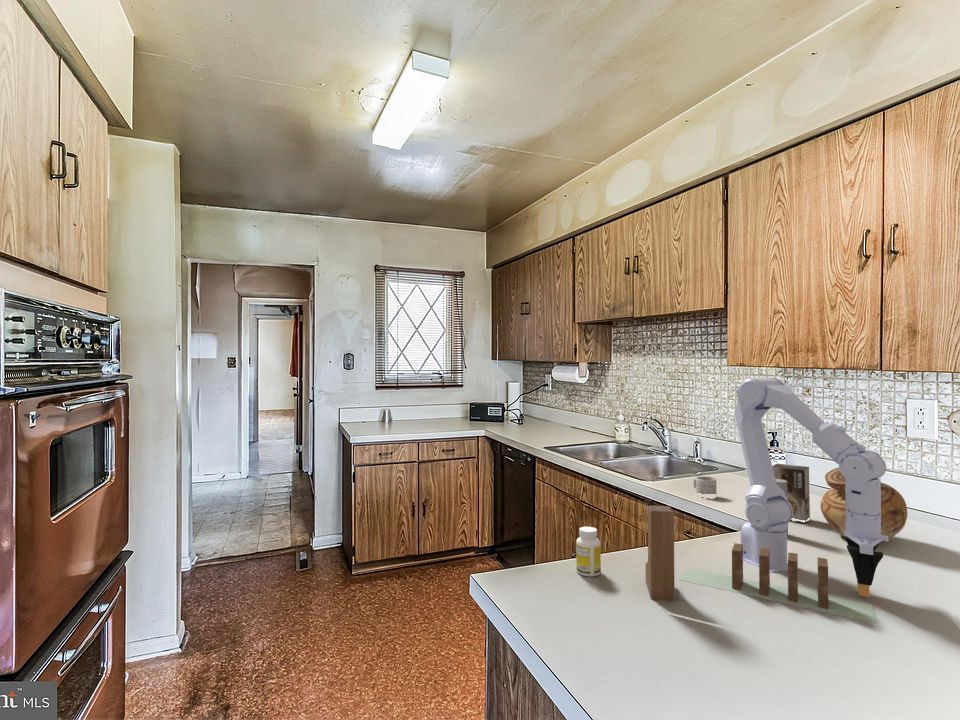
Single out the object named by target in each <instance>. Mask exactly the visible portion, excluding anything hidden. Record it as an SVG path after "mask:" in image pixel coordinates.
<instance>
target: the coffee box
mask: <svg viewBox="0 0 960 720" xmlns="http://www.w3.org/2000/svg"><path fill="white" fill-rule="evenodd" d="M772 467H773V472H774V476H775V479H781V480H786V481H787V493H788V502H789V503H790V504H791V506H792V509H793V517H792V518H795V519H799V520H805V521H806V520H807V519H808V518H809V517H810V518H811V505H810V503H811V502H810V499H811V498H810V467H809V466H805V465H803V466H802V465H795V464H785V463H775V464H774V465H772Z"/></svg>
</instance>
